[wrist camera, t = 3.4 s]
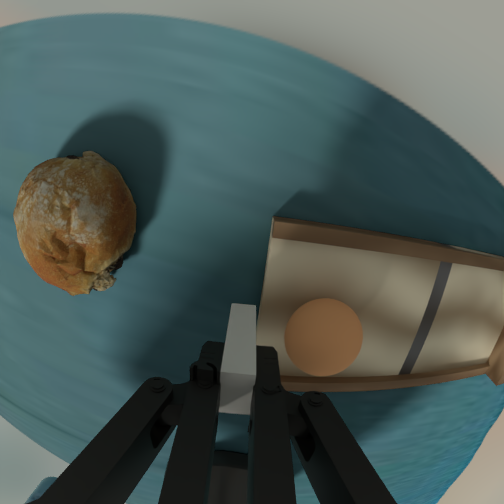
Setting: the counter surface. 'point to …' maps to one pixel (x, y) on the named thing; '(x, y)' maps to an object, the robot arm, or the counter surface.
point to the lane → (386, 305)
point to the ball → (323, 337)
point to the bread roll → (75, 222)
